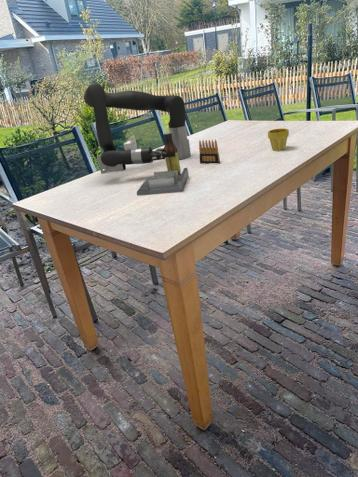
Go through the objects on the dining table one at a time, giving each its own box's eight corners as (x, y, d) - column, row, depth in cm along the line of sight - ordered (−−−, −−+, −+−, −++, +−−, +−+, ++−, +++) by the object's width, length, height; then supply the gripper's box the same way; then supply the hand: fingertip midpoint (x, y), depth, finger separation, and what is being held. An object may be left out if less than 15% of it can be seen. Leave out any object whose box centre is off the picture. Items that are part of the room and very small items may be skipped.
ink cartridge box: (131, 160, 220) (126, 135, 214) (139, 159, 219) (134, 134, 213) (127, 164, 213) (121, 138, 207) (135, 163, 212) (130, 137, 205)
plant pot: (281, 152, 187) (280, 133, 183) (264, 151, 195) (263, 132, 191) (292, 147, 193) (292, 128, 189) (276, 146, 201) (275, 128, 196)
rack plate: (188, 176, 172) (187, 166, 170) (182, 191, 154) (181, 179, 152) (147, 180, 176) (145, 170, 173) (137, 195, 158) (135, 184, 156)
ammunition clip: (220, 162, 187) (218, 138, 182) (218, 163, 185) (216, 139, 180) (201, 162, 192) (199, 139, 187) (200, 163, 191) (197, 140, 186)
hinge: (100, 174, 201) (96, 155, 197) (102, 171, 206) (98, 153, 202) (125, 170, 201) (121, 151, 196) (126, 167, 206) (122, 149, 201)
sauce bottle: (182, 172, 180) (177, 130, 171) (178, 176, 175) (172, 133, 166) (170, 172, 182) (164, 131, 174) (165, 176, 177) (159, 134, 168)
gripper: (137, 151, 169) (172, 147, 166) (144, 144, 182) (177, 140, 178) (140, 167, 172) (174, 164, 169) (147, 159, 185) (179, 156, 182)
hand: (176, 152), depth 174 cm, fingers closed on sauce bottle, 6 cm apart
